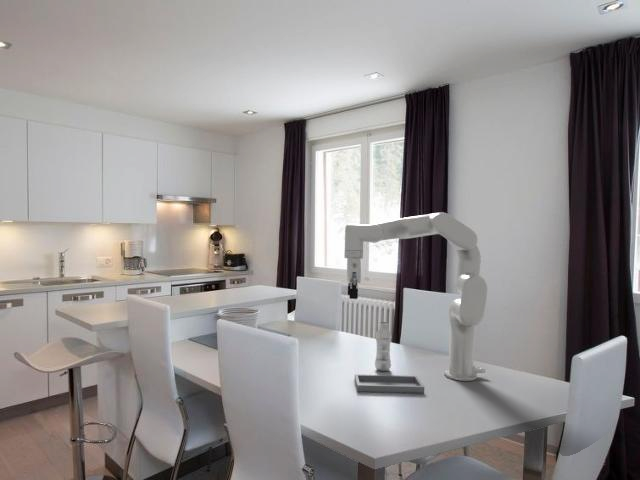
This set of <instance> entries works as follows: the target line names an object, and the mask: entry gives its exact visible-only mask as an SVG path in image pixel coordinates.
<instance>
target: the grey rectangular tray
mask: <svg viewBox="0 0 640 480" xmlns="http://www.w3.org/2000/svg"><path fill="white" fill-rule="evenodd" d="M354 385H355V388H356V393H364V394H365V393H367V394H368V393H369V394H399V395H401V394H407V395H425V386H424V384H423V383H422V382H421V380H420V379H419V377H418V376H417V375H392V374H391V375H390V374H356V373H355V374H354Z"/></svg>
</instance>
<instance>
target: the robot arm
mask: <svg viewBox="0 0 640 480" xmlns="http://www.w3.org/2000/svg"><path fill="white" fill-rule="evenodd" d="M344 234H345V235H344V259H346V260H347V261H346V262H347V263H346V277H347V278H346V279H347V282H348V283H347V284H348V285H347V296H349V297H348V298H349V299H350V300H351V299H352V300H357V299H358V297H359V288H358V284H361V282H362V278H361V277H362V275H361V274H362V261H361V259H364V242H366V243H371V244H372V243H373V244H377V243H379V242H382V241H387V240H395V239H396V240H399V239H400V240H404V239H405V240H407V239H413V238H419V237H427V236H433V235H439V236H441V237H443V238H445V240H447V241H448V244H449V245H450V246H451V248H452V249H454V250H455V251H456V253H457V257H458V261H457V263H458V264H457V271H456V277H455V282H454V283H455V285H454V286H455V289H456V291H457V292H458V293H459V294H460V295H461V296H460V298H455V299H454V300H453V301H451V303H450V305H449V308H448V309H449V310H448V317H449V318H448V319H449V345H448V349H449V350H448V368H447V369H445V370H444V376H445V377H447V378H449V379H451V380H456V381H463V382H472V381H475V380H476V379H478V373H479V374H486V368H485V367H483V368H482V367H480V366H474V358H475V357H474V352H475V349H474V348H475V327H477V326H478V325H480V323H481V322H482V321H483V318H484V315H485V310H486V304H487V296H488V285H487V282H486V280H485V279H484V278H483V277H482V276H480V271H481V262H482V260H481V256H482V255H481V252H480V249H479V247H478V244H477V243H478V240H479V239H478V236H477V233H476V232H475V231H474V230H473V229H471V228H470V227H468V225H465V224H464V223H463V222H462V221H460V220H458V219H456V218H455V217H454V216H452V215H450V214H449V213H446V212H443V211H441V212H434V213H433V212H432V213H428V214H422V215H414V216H408V217H403V218H398V219H395V220H391V221H384V222H378V223H377V222H376V223H371V224H360V223H359V224H358V223H348V224H346V225H345V231H344Z"/></svg>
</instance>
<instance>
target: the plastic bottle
mask: <svg viewBox="0 0 640 480" xmlns="http://www.w3.org/2000/svg"><path fill="white" fill-rule="evenodd" d="M378 327H379V328H378V330H377V331H376V333H375V343H376V355H375V361H374V367H375V369H376V370H377V371H380V372H389V371H390V369H392V368H391V367H392V363H391V361H392V360H391V352H390V350H391V349H390V348H391V342H392V333H391V331H390V330H389V328H390V327H389V322H387V321H380V322H379V325H378Z"/></svg>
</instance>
